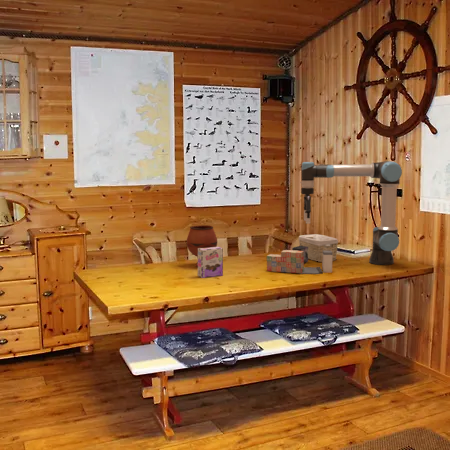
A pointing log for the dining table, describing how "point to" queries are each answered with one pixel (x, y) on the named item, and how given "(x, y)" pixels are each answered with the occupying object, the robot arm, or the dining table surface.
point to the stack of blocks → (286, 261)
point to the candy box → (210, 262)
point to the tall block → (327, 261)
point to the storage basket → (319, 246)
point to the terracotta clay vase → (201, 239)
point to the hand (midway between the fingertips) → (307, 222)
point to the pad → (312, 270)
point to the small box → (302, 248)
